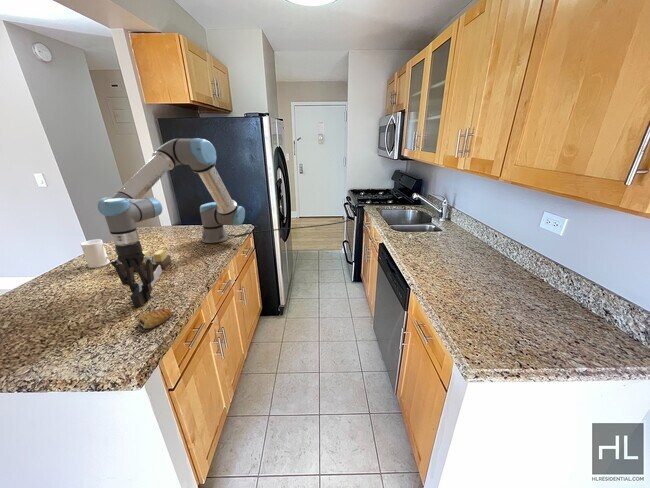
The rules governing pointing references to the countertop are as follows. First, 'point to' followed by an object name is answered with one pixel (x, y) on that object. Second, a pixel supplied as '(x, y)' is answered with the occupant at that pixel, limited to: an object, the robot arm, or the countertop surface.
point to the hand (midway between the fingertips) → (143, 298)
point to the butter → (146, 255)
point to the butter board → (156, 263)
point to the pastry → (154, 318)
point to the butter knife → (138, 294)
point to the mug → (95, 253)
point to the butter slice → (160, 255)
